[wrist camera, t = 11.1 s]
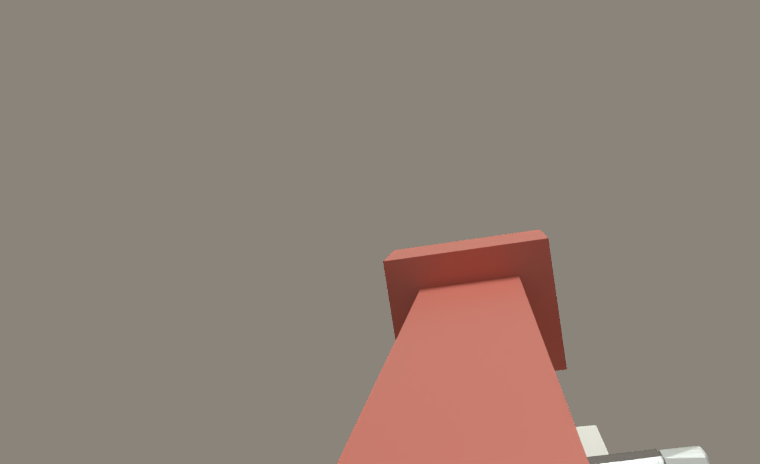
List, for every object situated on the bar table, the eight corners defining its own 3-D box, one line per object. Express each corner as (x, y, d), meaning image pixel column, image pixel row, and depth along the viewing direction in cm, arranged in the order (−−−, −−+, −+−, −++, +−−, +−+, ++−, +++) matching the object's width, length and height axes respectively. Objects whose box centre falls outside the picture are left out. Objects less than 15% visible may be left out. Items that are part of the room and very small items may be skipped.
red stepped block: (808, 923, 6) (748, 443, 5) (219, 925, 6) (141, 500, 6) (555, 344, 24) (539, 229, 24) (411, 362, 25) (394, 250, 25)
